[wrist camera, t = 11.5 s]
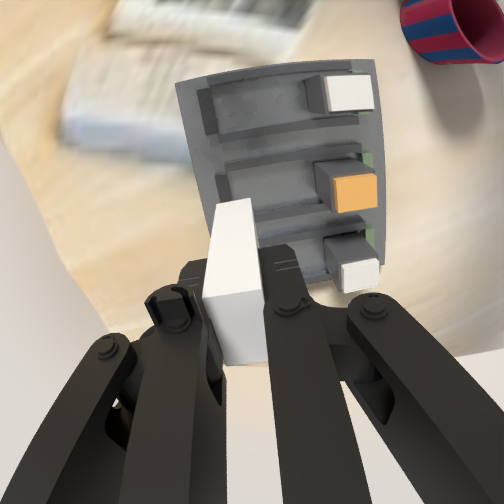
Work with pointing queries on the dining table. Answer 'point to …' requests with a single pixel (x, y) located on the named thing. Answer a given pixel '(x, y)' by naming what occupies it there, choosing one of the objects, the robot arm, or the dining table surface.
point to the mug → (455, 30)
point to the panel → (282, 154)
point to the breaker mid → (346, 185)
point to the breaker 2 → (351, 262)
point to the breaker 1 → (339, 93)
